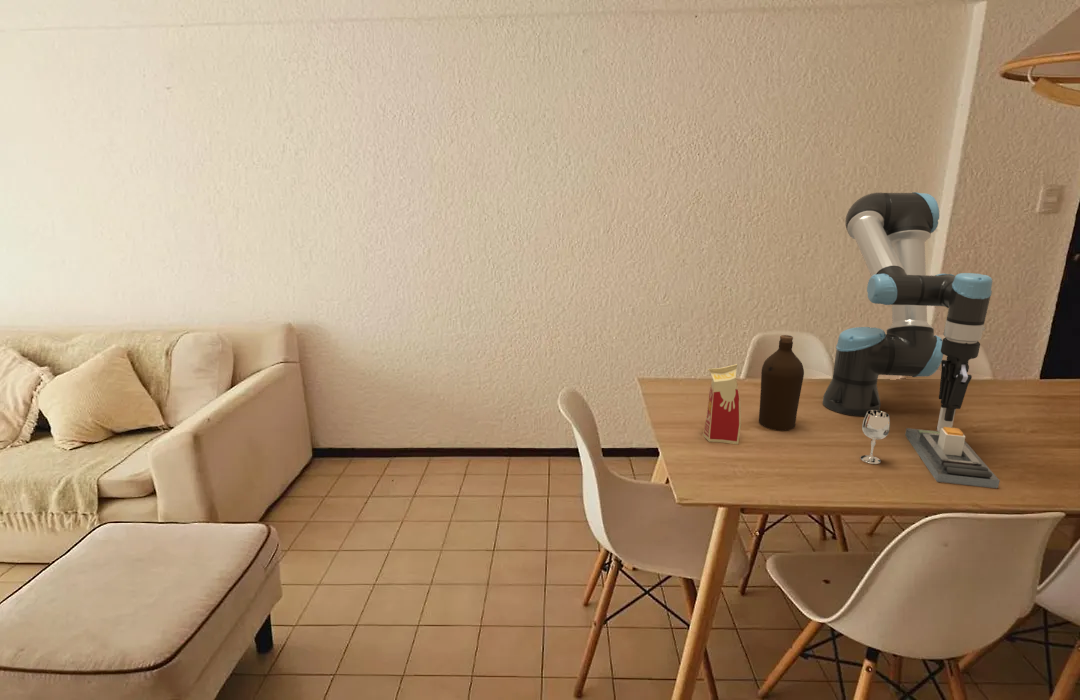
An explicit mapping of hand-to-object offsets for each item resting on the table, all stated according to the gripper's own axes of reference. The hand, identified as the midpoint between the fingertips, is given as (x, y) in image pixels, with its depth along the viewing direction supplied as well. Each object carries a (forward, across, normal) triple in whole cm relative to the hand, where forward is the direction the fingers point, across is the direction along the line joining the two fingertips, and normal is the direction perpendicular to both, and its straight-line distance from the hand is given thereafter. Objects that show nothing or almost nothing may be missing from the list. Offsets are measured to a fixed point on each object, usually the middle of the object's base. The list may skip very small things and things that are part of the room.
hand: (943, 431), depth 156 cm
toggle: (+3, -5, 0) cm, 6 cm away
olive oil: (+5, +7, +38) cm, 39 cm away
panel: (+5, -5, 0) cm, 7 cm away
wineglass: (+5, -10, +18) cm, 21 cm away
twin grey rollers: (+3, -16, 0) cm, 17 cm away
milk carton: (+5, -5, +53) cm, 54 cm away
